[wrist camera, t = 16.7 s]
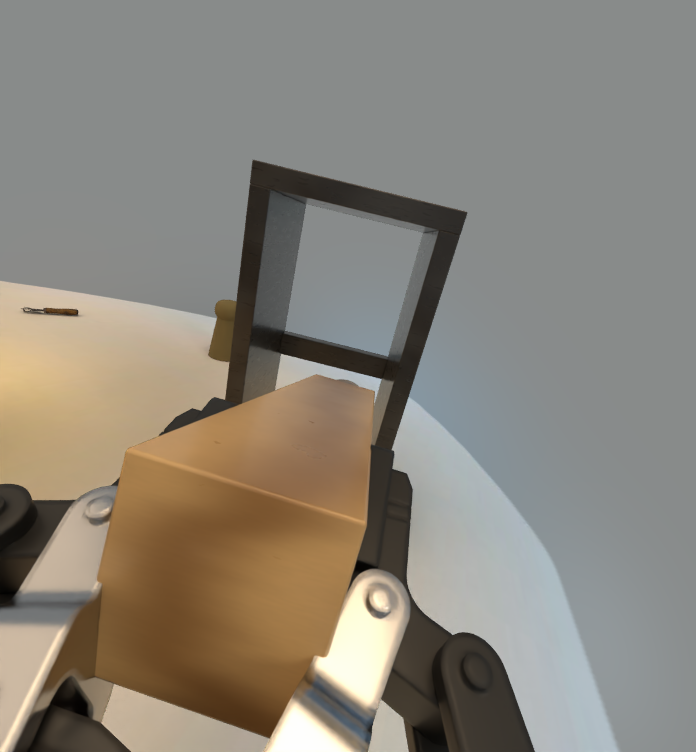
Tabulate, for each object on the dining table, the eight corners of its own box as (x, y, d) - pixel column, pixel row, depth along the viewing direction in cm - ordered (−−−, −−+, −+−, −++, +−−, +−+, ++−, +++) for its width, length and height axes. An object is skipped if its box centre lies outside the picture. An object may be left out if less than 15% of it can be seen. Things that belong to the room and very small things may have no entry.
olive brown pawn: (232, 349, 77) (238, 297, 73) (245, 360, 73) (252, 306, 69) (203, 350, 72) (208, 295, 68) (215, 362, 69) (221, 305, 65)
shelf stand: (212, 511, 36) (252, 159, 25) (253, 446, 47) (294, 183, 36) (359, 549, 36) (467, 212, 25) (366, 475, 47) (442, 220, 36)
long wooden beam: (72, 672, 6) (124, 447, 6) (307, 423, 28) (322, 371, 28) (300, 751, 6) (368, 523, 6) (360, 439, 28) (375, 386, 28)
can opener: (78, 314, 75) (78, 308, 74) (76, 317, 73) (76, 312, 72) (21, 309, 71) (20, 303, 70) (17, 312, 69) (16, 306, 68)
